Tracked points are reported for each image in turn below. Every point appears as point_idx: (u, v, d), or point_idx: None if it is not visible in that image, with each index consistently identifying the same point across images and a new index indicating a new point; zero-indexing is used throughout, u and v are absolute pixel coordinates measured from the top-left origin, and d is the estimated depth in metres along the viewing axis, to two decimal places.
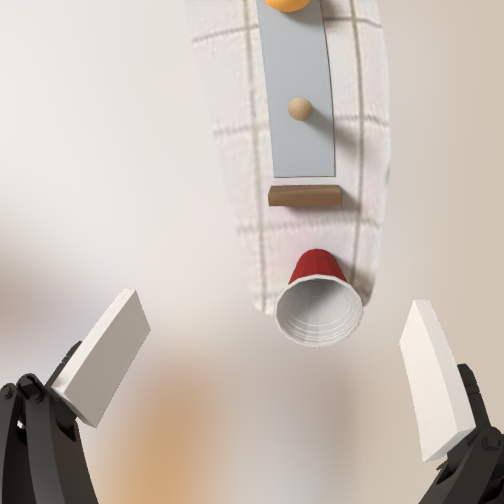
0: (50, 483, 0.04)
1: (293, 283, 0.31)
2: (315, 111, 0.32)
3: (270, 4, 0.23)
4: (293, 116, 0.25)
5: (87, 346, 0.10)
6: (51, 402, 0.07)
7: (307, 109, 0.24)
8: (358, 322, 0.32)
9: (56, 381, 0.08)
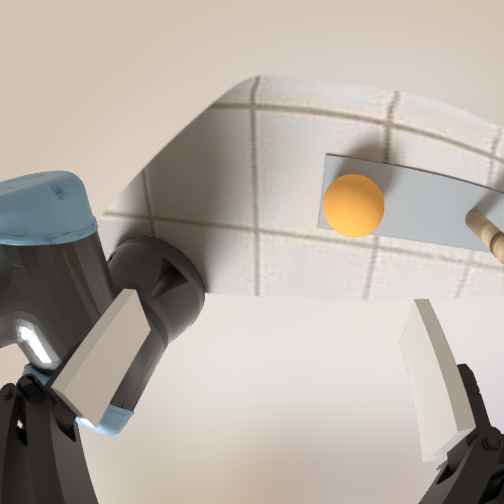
0: (50, 483, 0.04)
1: None
2: (478, 204, 0.24)
3: None
4: None
5: (87, 346, 0.10)
6: (51, 402, 0.07)
7: None
8: None
9: (56, 381, 0.08)
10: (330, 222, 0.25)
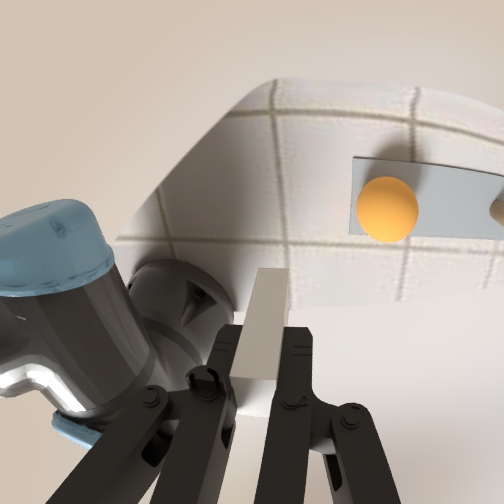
0: (181, 502, 0.05)
1: None
2: (499, 194, 0.22)
3: None
4: None
5: (254, 325, 0.10)
6: (225, 405, 0.08)
7: None
8: None
9: (234, 368, 0.09)
10: (367, 229, 0.23)
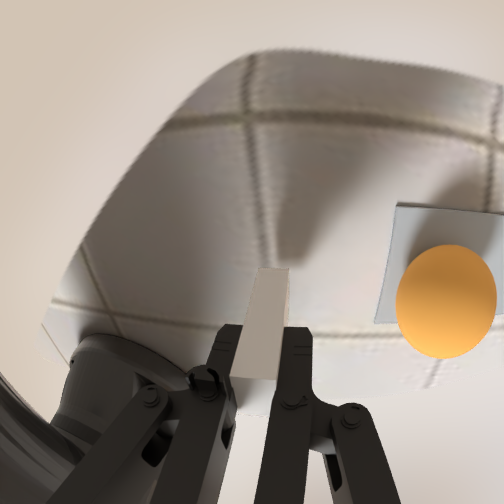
0: (181, 502, 0.05)
1: None
2: None
3: None
4: None
5: (254, 325, 0.10)
6: (225, 405, 0.08)
7: None
8: None
9: (234, 368, 0.09)
10: (412, 343, 0.12)
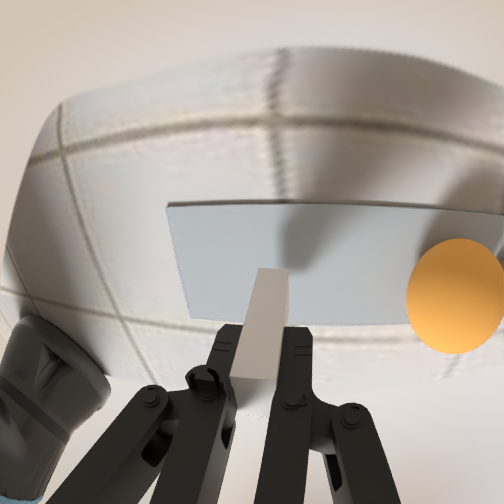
0: (181, 502, 0.05)
1: None
2: (485, 246, 0.13)
3: (429, 346, 0.12)
4: None
5: (254, 325, 0.10)
6: (225, 405, 0.08)
7: None
8: None
9: (234, 368, 0.09)
10: None
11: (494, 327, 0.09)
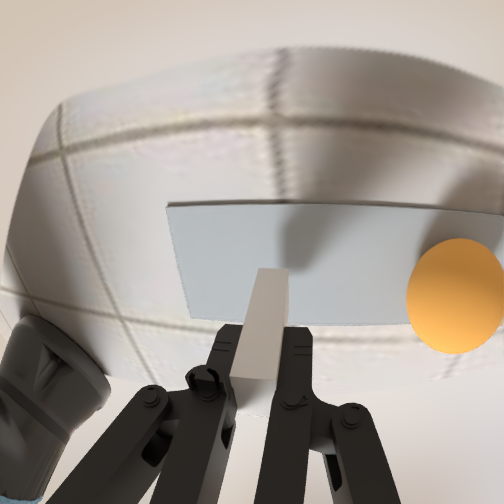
0: (181, 502, 0.05)
1: None
2: (485, 246, 0.13)
3: (429, 346, 0.12)
4: None
5: (254, 325, 0.10)
6: (225, 405, 0.08)
7: None
8: None
9: (234, 368, 0.09)
10: None
11: (494, 327, 0.09)
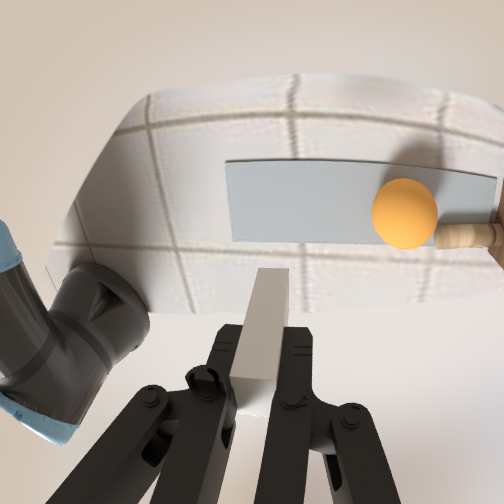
0: (181, 502, 0.05)
1: None
2: None
3: (389, 242, 0.21)
4: None
5: (254, 325, 0.10)
6: (225, 405, 0.08)
7: None
8: None
9: (234, 368, 0.09)
10: None
11: (427, 225, 0.19)
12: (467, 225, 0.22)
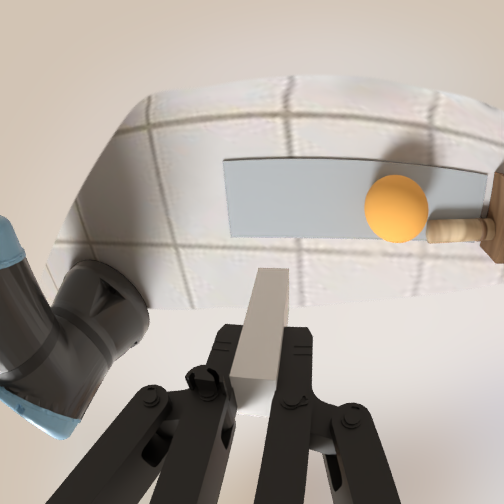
0: (181, 502, 0.05)
1: None
2: (420, 186, 0.24)
3: (381, 235, 0.22)
4: None
5: (254, 325, 0.10)
6: (225, 405, 0.08)
7: None
8: None
9: (234, 368, 0.09)
10: None
11: (418, 219, 0.20)
12: (458, 220, 0.23)
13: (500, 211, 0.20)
